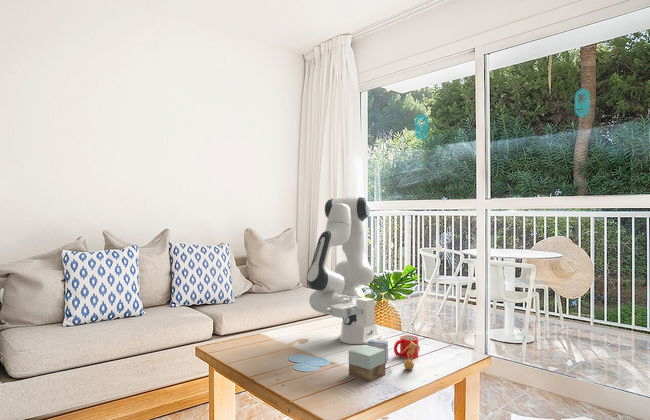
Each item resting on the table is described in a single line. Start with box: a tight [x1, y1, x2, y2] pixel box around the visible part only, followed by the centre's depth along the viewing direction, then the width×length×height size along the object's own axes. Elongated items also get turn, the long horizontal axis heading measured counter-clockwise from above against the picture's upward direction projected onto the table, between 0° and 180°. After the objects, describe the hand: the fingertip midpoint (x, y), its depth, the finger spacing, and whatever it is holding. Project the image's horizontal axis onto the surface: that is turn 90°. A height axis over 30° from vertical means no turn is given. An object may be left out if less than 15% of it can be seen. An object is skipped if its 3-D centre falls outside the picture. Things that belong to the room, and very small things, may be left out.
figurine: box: [402, 341, 421, 371], centre depth 169 cm, size 8×6×12 cm
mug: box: [393, 335, 419, 360], centre depth 186 cm, size 8×12×8 cm, turn 119°
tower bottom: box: [348, 363, 386, 383], centre depth 164 cm, size 10×10×5 cm
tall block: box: [356, 296, 376, 327], centre depth 164 cm, size 5×5×10 cm
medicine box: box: [367, 338, 389, 364], centre depth 180 cm, size 8×4×9 cm, turn 71°
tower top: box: [348, 344, 386, 370], centre depth 164 cm, size 10×10×5 cm
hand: (367, 311), depth 164 cm, fingers closed on tall block, 5 cm apart
